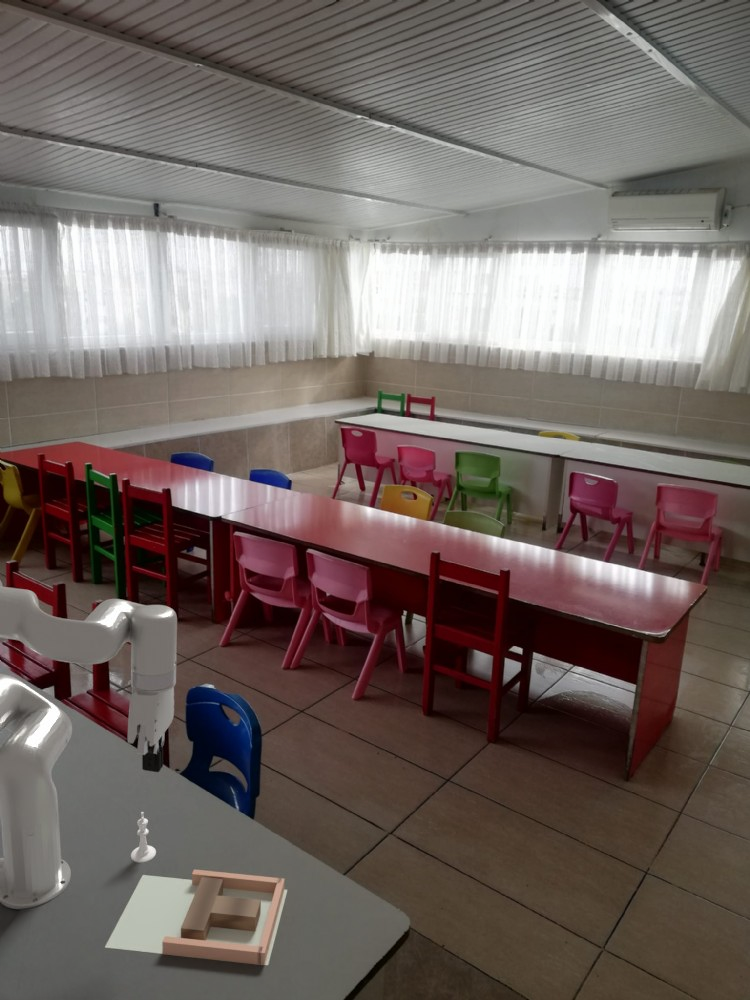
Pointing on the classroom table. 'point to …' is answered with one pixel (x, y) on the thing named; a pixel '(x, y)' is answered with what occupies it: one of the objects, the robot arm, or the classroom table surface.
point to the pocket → (228, 949)
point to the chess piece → (143, 843)
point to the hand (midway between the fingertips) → (152, 768)
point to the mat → (179, 916)
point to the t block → (218, 911)
